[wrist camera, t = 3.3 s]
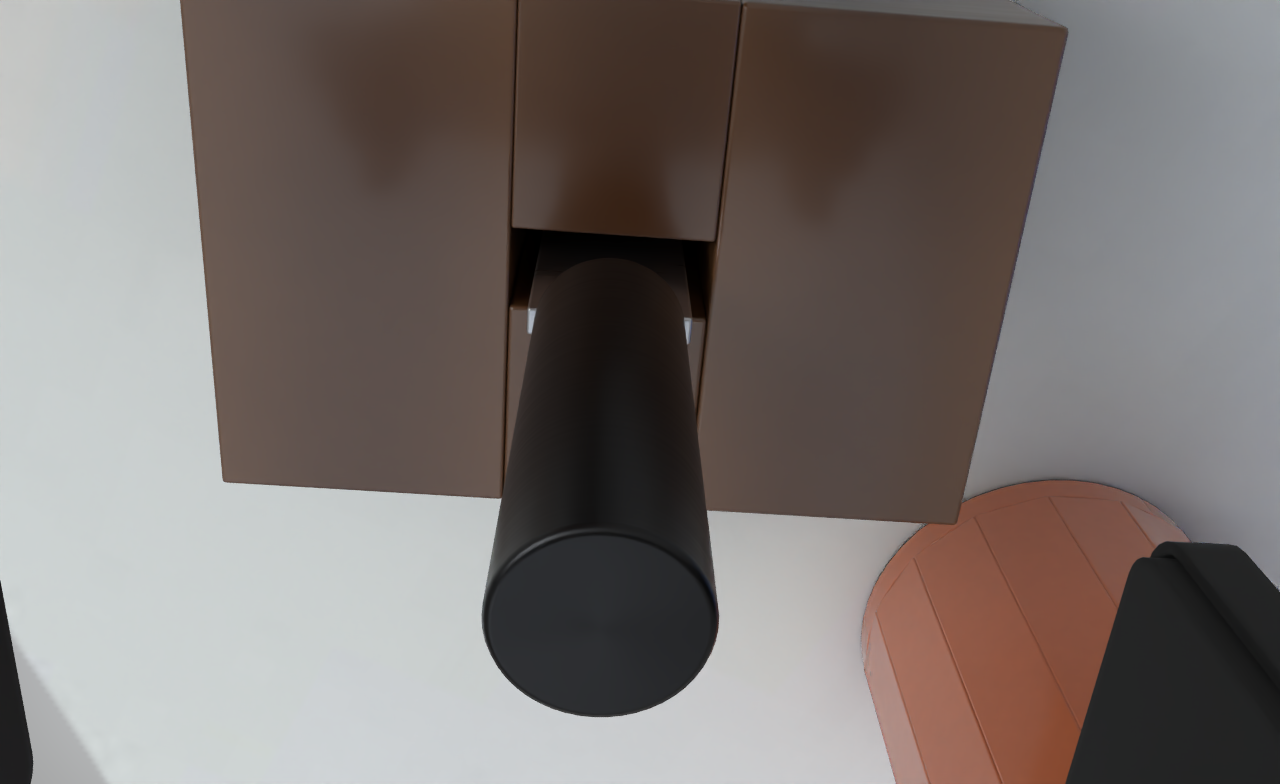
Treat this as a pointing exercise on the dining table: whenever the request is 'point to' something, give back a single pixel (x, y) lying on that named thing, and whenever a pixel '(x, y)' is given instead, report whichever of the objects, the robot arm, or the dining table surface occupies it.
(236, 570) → the dining table surface
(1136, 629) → the robot arm
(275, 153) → the knife block
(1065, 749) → the cup
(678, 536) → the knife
